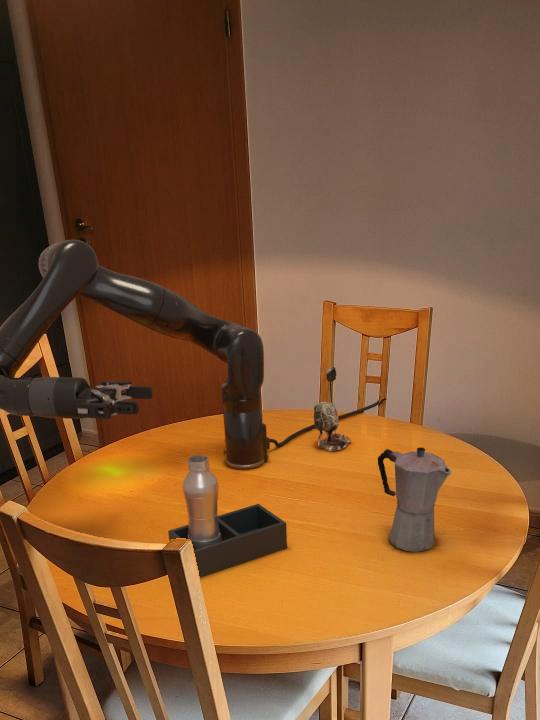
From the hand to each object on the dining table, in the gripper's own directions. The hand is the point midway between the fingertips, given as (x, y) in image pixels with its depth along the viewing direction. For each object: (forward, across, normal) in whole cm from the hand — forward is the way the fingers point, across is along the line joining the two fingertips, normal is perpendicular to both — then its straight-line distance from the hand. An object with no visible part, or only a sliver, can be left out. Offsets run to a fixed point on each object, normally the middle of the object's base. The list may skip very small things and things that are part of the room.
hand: (145, 400), depth 144 cm
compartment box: (+15, -2, +30) cm, 33 cm away
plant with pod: (+30, +54, +29) cm, 68 cm away
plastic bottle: (+11, -5, +29) cm, 31 cm away
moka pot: (+49, +5, +29) cm, 57 cm away
